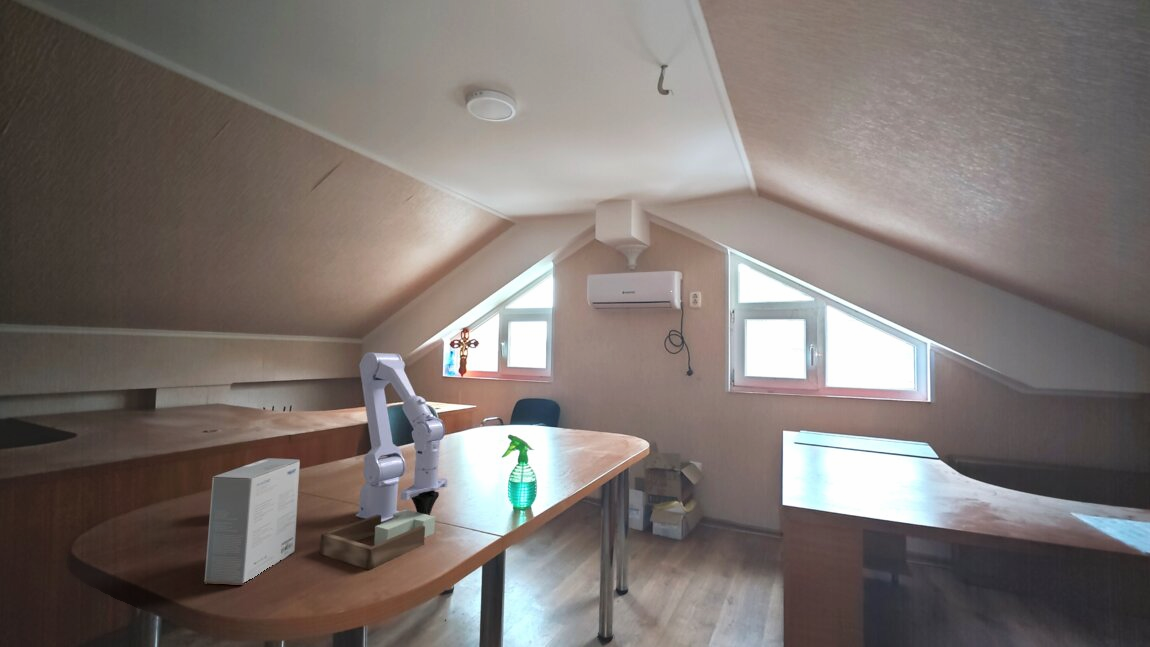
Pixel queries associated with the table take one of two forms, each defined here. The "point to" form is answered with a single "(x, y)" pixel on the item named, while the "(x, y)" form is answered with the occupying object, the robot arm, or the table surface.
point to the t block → (404, 525)
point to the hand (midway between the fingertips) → (423, 521)
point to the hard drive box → (251, 519)
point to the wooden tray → (365, 556)
